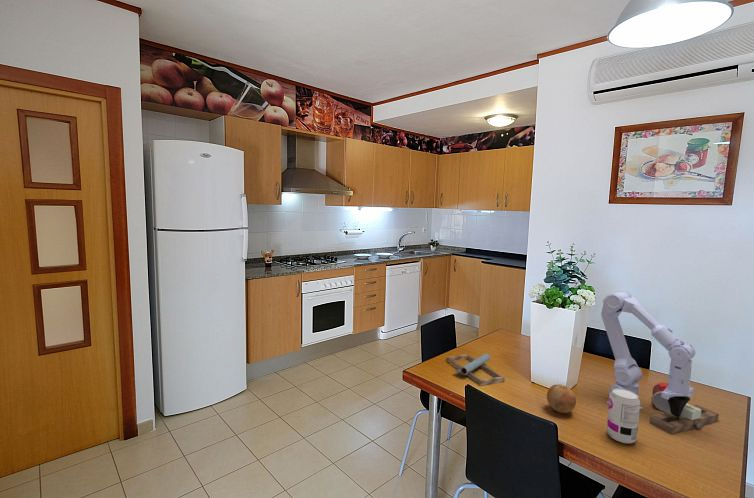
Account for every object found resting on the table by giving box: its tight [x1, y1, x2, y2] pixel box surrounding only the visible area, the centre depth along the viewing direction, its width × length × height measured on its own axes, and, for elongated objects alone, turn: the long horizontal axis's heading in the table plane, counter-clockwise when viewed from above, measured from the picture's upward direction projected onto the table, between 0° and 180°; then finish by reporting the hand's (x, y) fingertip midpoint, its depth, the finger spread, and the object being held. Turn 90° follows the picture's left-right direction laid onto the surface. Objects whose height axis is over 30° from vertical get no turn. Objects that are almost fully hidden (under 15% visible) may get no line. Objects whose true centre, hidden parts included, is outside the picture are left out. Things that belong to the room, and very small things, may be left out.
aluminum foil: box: [453, 353, 491, 376], centre depth 170 cm, size 23×7×3 cm, turn 138°
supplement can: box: [606, 389, 641, 445], centre depth 120 cm, size 8×8×15 cm
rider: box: [679, 403, 701, 420], centre depth 131 cm, size 5×6×6 cm
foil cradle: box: [445, 354, 506, 387], centre depth 170 cm, size 12×28×2 cm, turn 21°
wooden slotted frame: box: [649, 404, 720, 435], centre depth 131 cm, size 26×10×2 cm, turn 111°
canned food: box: [651, 382, 670, 413], centre depth 142 cm, size 8×8×11 cm
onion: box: [546, 383, 577, 414], centre depth 136 cm, size 10×10×10 cm
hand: (675, 414), depth 129 cm, fingers closed
